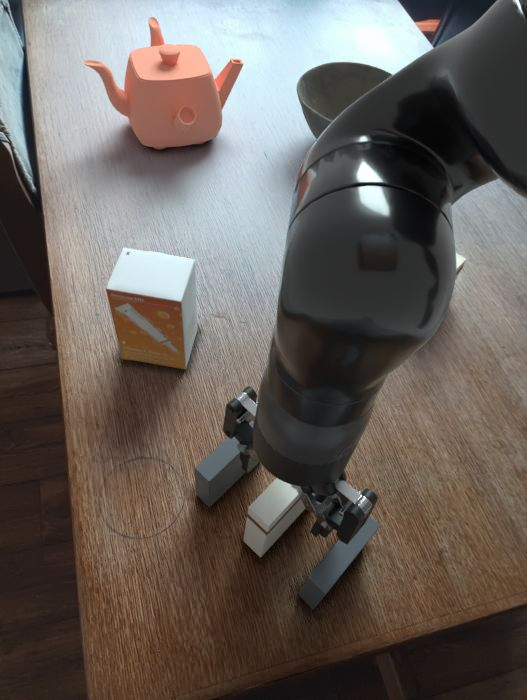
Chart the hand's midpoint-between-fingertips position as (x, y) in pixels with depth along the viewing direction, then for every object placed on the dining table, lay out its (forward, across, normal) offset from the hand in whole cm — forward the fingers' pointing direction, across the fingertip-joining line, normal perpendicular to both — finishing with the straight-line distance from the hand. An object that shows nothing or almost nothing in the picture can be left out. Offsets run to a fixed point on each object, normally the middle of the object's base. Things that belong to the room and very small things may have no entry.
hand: (284, 494), depth 50 cm
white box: (+7, 0, 0) cm, 7 cm away
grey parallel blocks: (+7, 0, 0) cm, 7 cm away
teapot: (+7, +58, -36) cm, 69 cm away
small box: (+7, +25, -6) cm, 26 cm away
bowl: (+7, +35, -56) cm, 66 cm away
